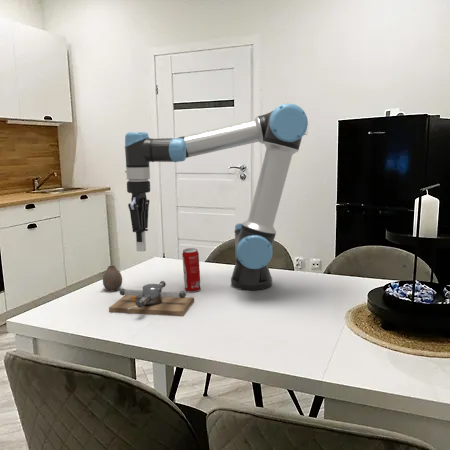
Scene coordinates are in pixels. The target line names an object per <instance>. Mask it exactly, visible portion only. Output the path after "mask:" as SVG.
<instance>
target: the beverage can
mask: <svg viewBox="0 0 450 450" xmlns="http://www.w3.org/2000/svg"><path fill="white" fill-rule="evenodd" d="M181 257H182V266H183V267H182V268H183V283H184V291H186V292H187V293H197V292H198V291H201V286H202V285H201V270H200V255H199V250H198V249H197V248H194V247H191V248H185V249H183V250H182V256H181Z"/></svg>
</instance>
